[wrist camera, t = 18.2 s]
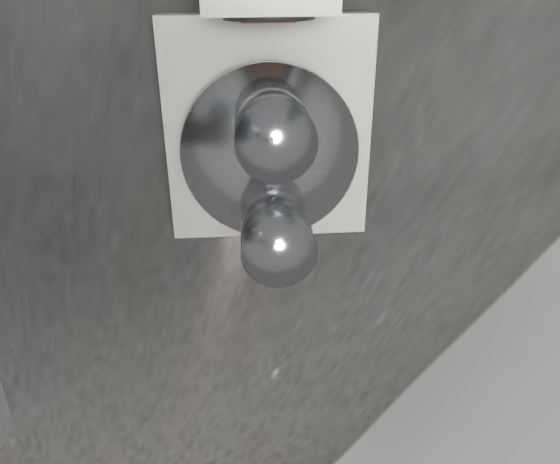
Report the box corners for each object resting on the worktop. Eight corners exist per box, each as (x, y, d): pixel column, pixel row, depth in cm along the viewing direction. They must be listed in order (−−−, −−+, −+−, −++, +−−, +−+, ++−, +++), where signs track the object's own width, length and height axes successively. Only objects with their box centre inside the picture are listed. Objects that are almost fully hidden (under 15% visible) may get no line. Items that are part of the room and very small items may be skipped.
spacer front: (233, 77, 30) (232, 103, 24) (302, 76, 31) (319, 101, 24) (236, 145, 32) (235, 185, 26) (301, 143, 32) (317, 183, 26)
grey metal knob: (239, 174, 33) (239, 220, 27) (303, 173, 33) (318, 218, 27) (241, 233, 35) (242, 288, 28) (302, 231, 35) (316, 286, 29)
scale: (178, 223, 38) (166, 271, 32) (153, -34, 31) (132, -37, 25) (357, 217, 39) (380, 263, 33) (372, -35, 32) (405, -38, 26)
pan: (188, 232, 36) (187, 239, 35) (173, 61, 31) (171, 64, 30) (351, 226, 36) (353, 233, 35) (360, 58, 31) (364, 61, 31)
